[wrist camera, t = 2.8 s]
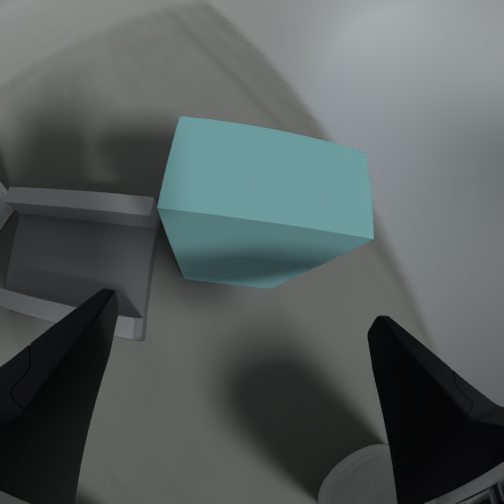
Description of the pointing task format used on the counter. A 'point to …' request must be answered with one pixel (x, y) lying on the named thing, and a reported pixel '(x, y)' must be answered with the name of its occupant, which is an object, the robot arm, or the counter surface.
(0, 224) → the light bulb box
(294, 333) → the counter surface
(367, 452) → the glass holder
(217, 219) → the teal rectangular block
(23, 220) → the floor track
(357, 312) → the counter surface
